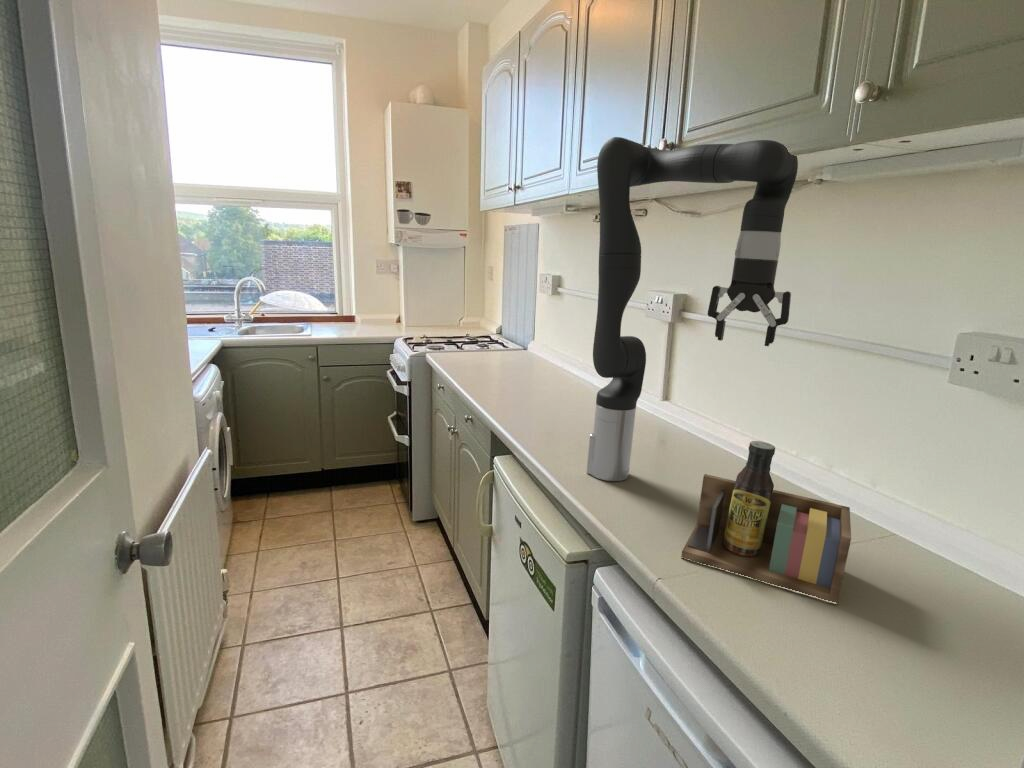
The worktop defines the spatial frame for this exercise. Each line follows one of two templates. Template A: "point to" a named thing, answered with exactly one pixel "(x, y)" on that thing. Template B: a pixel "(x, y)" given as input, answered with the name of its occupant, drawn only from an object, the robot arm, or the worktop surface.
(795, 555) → the book row
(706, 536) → the bookend
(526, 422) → the worktop surface
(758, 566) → the shelf
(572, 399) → the worktop surface
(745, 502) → the sauce bottle
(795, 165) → the robot arm
